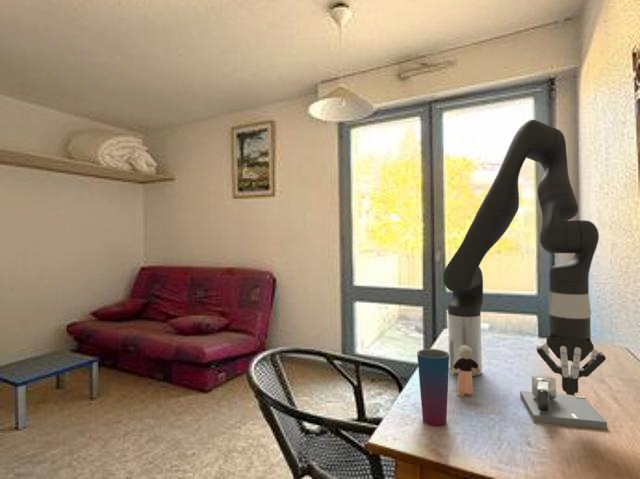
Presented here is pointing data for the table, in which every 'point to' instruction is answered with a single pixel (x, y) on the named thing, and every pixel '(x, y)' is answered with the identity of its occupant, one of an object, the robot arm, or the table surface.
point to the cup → (433, 385)
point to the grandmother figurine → (465, 371)
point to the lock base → (564, 411)
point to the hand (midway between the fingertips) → (569, 393)
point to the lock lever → (543, 390)
